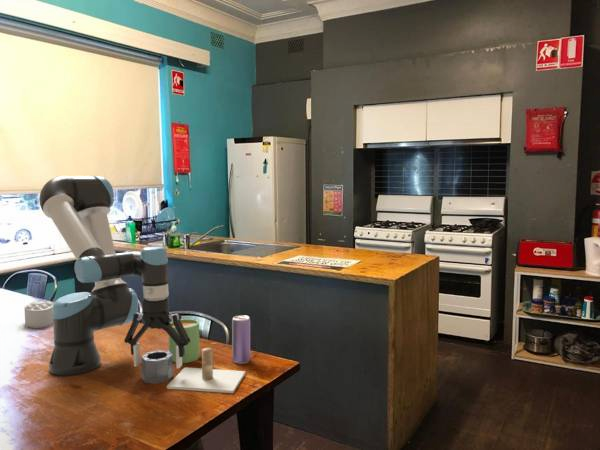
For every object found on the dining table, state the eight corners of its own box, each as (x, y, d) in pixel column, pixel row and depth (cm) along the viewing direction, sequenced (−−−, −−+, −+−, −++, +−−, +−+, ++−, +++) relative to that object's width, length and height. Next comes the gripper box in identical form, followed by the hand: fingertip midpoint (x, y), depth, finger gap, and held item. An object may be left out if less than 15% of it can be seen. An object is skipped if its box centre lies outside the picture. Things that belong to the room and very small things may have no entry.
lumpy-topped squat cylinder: (50, 317, 210) (49, 298, 209) (57, 324, 200) (56, 304, 199) (23, 322, 204) (22, 302, 203) (29, 329, 194) (28, 308, 193)
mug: (206, 357, 166) (205, 323, 164) (180, 365, 158) (179, 330, 157) (185, 348, 174) (184, 315, 173) (159, 355, 167) (158, 321, 165)
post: (200, 380, 145) (200, 351, 144) (204, 375, 148) (203, 347, 147) (210, 380, 144) (210, 351, 143) (214, 376, 148) (213, 348, 147)
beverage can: (247, 365, 159) (246, 320, 157) (229, 363, 160) (229, 319, 158) (252, 358, 164) (252, 315, 163) (235, 357, 166) (235, 314, 164)
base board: (166, 388, 141) (166, 386, 141) (184, 369, 155) (184, 367, 154) (233, 393, 138) (233, 390, 138) (245, 373, 152) (245, 371, 152)
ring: (137, 382, 145) (137, 359, 144) (150, 371, 153) (150, 349, 153) (165, 384, 144) (164, 361, 143) (176, 372, 152) (176, 351, 151)
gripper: (110, 299, 144) (113, 368, 146) (190, 302, 140) (192, 372, 142) (123, 294, 151) (126, 359, 153) (199, 296, 148) (201, 363, 150)
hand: (158, 365), depth 148 cm, fingers open, 13 cm apart
